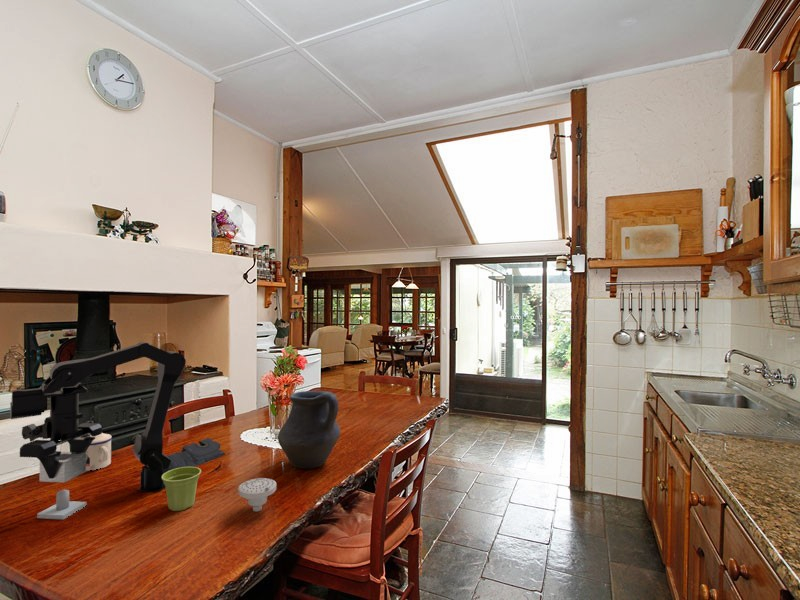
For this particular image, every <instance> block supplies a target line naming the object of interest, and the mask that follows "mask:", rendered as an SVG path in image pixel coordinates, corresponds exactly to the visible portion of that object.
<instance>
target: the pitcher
mask: <svg viewBox="0 0 800 600" xmlns="http://www.w3.org/2000/svg"><path fill="white" fill-rule="evenodd" d="M289 399H290V401H291V403H292V405H291V409H290V412H289V414H288V417H287V418H286V421H285V423H284V424H283V425H282V427H281V428H280V430H279V432H278V434H277V441H278V444H279V446H280V448H281V450H282V451H283V453H284V454H285V456H286V458H287V460H288V461H289V463H290V465H292V466H293V467H294V468H299V469H304V470H308V469H309V470H310V469H311V470H312V469H315V468H320V467H322V466H323V465H324V464H325V463H326V461H327V459H328V458H329V457H330V455H331V453H332V451H333V449H334V448H335V446H336V444H337V442H338V440H339V439H340V436H341V427H340V425H339V423H337V421H336V420H337V416H338V412H339V405H340V404H339V403H340V402H339V400H338V397H337V395H336V394H335V393H333V392H330V391H325V390H324V391H323V390H322V391H321V390H320V391H319V390H305V391H304V390H303V391H298V392H294V393H293V394H291V395H290V396H289Z"/></svg>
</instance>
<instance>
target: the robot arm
mask: <svg viewBox="0 0 800 600" xmlns="http://www.w3.org/2000/svg"><path fill="white" fill-rule="evenodd" d="M142 358H146V359H149V360H151V361H154V362H156V363H157V380H158V381H157V385H156V389H155V391H154V396H153V401H152V404H151V408H150V410H149V415H148V419H147V423H146V427H145V429H144V431H143V432H142V433H141V434H136V435H135V439H134V444H133V446H132V447H131V449H132V450H133V455H134V457H135V458H136V459H137V460H138V462H140V464H141V465H143V466H142V467H141V470H140V471H141V472H140V478H139V479H140V482H139V483H140V484H139V485H140V487H139V488H137V491H138V492H157V493H158V492H161V491H162V490H164V489H166V488H165V485H164V481H163V480H162V475H163V474H164V473H166V472H168V471H169V465H170V463H171V460H170V459H169V458H168V457H167V456H168V455H166V454H165V453H163V451H164V450H163V449H164V438H163V432H164V431H163V430H164V427H165V426H164V425H165V423H166V418H167V415H168V412H169V408H170V407H169V406H170V404H171V400H172V395H173V392H174V387H175V385H176V382H177V381H178V380H179V378H180V376H181V375H182V374H183V371H184V369H185V366H186V363H187V360H186V358H185V356H184V354H181V353H179V352H177V351H176V352H175V351H172V350H167V351H165V350H163V349H162V348H159V347H156V346H154V345H152V344H151V343H148V342H146V341H140V342H138V343H136V344H133V345H130V346H127V347H123V348H120V349H116V350H114V351H110V352H107V353H102V354H100V355H97V356H94V357H93V356H92V357H89V358H82V359H81V358H80V359H74V360H73V359H72V360H66V361H61V362H60V361H59V362H58V363H56V364H54V365H53V366H52V367H51V369H49V376H48V377H47V378H46V379H45V381H43V383H42V384H41V385H40V386H39V388H31V389H30V388H29V389H13V390H11V402H10V404H9V405H10V407H9V409H10V420H15V419H23V418H29V417H36V416H37V417H38V416H42V413H45V411H48V398H49V397H50V402H49V407H50V408H49V416H48V417H45V419H44V423H42V424H39V425H36V424H35V423H31V424H27V425H25V426H22V427H21V436H22V438H23V440H28V439H29V442H27V443H24V444H23V445H21V446H20V448H19V457H20V458H33V459H34V458H35V459H36V458H37V460H39V463H40V462H41V463H42V465H43V467H44V469H45V471H46V473H47V475H48V477H49V478H54V477H55V474H56V471H57V467H58V463H59V459H60V455H61V452H62V451H59V450H57V448H58V447H57V446H59V445H62V444H65V443H68V444H69V445H70V448H71V450H70V452H79V453H85V452H86V451H87V449H88V447H89V446H90V444H91V443H92V441H93V440H94V439H95V437H90V435H92V436H97V435H100V434H102V433H103V426H102V425H101V424H100V423H98V422H97V423H91V422H84V423H80V424H79V419H81V418H83V415H84V414H83V413H82V412H81V413H79V400H80V398H79V397H80V396H79V394H83V393H88V392H89V389H88V388H86V387H85V386H83V385H82V383H81V381H84V380H86V379H88V378H89V377H91V376H92V375H94V374H96V373H98V372H102V371H104V370H108V369H110V368H113V367H117V366H119V365H123V364H126V363H129V362H133V361H135V360H139V359H142ZM39 438H40V439H39ZM41 438H42V439H41Z"/></svg>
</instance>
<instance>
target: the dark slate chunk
mask: <svg viewBox="0 0 800 600" xmlns="http://www.w3.org/2000/svg"><path fill="white" fill-rule="evenodd" d="M220 448H221V444H220V443H219V442H218V441H215V440H212V439H211V438H210V437H206V438H204V439H201V440H198V443H194V442H193V443H190V444H189V445H188V444H186V445H183V447H182V448H181V451H178V452H177V451H176V452H174V453H170V454H169V455H166V456H167V457H168V458H169V459H170V460H171V463H170V465H169V471H170V470H173V469H176V468H181V467H195V466H197V465H199V466H201V464H202V465H204V464H206V462H207V463H209V462H211V460H212V461H214V460H217V459H219V458H222V457H224V456H226V455H225V454H226V452H225V453H224V451H222V450H221V449H220ZM223 455H224V456H223ZM221 456H222V457H221ZM218 457H219V458H218ZM216 458H217V459H216ZM213 459H214V460H213ZM208 461H209V462H208ZM197 467H198V466H197Z"/></svg>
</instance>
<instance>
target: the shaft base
mask: <svg viewBox="0 0 800 600" xmlns="http://www.w3.org/2000/svg"><path fill="white" fill-rule="evenodd" d="M55 495H56V497H55V499H56V500H55V504H53V505H51V506H50V507H48V508H46V509H44V510H42V511H40V512H38V513H37V515H36V518H37V519H46V520H47V519H48V520H66V519H67V518H69V517H70V516H72V515H74V514H75V513H77V512H79V511H80V510H82V509H84V508H86V507H87V506H86V505H88V503H87V501H74V500H72V501H71V500H70V490H69V489H61V490H59V491H57V492H56V494H55ZM85 506H86V507H85ZM83 507H84V508H83ZM78 510H79V511H78ZM76 511H77V512H76ZM73 513H74V514H73ZM68 516H69V517H68Z"/></svg>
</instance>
